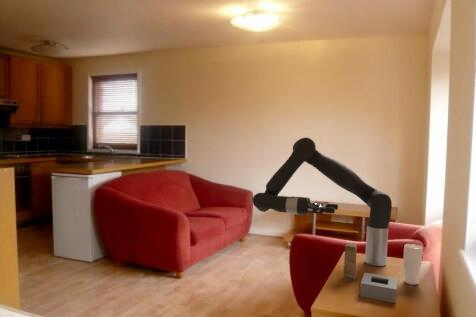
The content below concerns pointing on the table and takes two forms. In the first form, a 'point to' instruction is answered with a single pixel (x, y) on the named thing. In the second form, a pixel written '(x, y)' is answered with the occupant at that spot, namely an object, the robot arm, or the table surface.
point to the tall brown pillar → (350, 262)
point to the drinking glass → (412, 263)
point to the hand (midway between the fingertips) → (336, 208)
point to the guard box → (379, 287)
